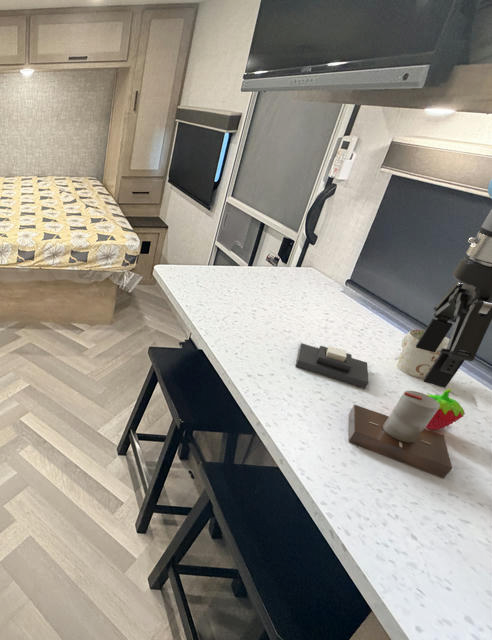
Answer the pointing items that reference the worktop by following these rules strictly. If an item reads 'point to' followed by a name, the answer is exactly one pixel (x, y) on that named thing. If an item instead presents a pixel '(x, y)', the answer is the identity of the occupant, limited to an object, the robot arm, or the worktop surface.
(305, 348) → the ridged dark grey block
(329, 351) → the cream square block
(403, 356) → the mug
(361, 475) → the worktop surface
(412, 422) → the volume knob
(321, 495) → the worktop surface
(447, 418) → the strawberry
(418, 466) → the volume box
